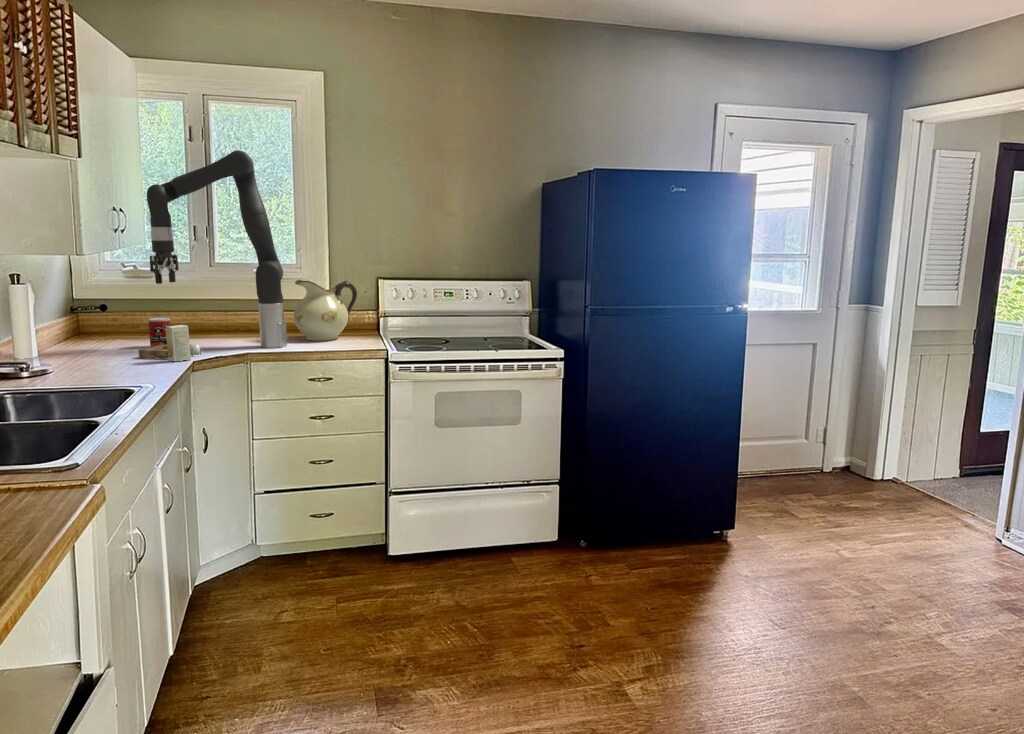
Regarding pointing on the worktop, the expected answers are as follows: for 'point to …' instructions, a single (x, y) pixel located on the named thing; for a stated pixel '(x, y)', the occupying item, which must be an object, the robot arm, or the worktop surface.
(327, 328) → the pitcher
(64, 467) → the worktop surface
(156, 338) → the canned food
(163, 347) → the holder
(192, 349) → the grey round ball
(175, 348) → the skincare box
